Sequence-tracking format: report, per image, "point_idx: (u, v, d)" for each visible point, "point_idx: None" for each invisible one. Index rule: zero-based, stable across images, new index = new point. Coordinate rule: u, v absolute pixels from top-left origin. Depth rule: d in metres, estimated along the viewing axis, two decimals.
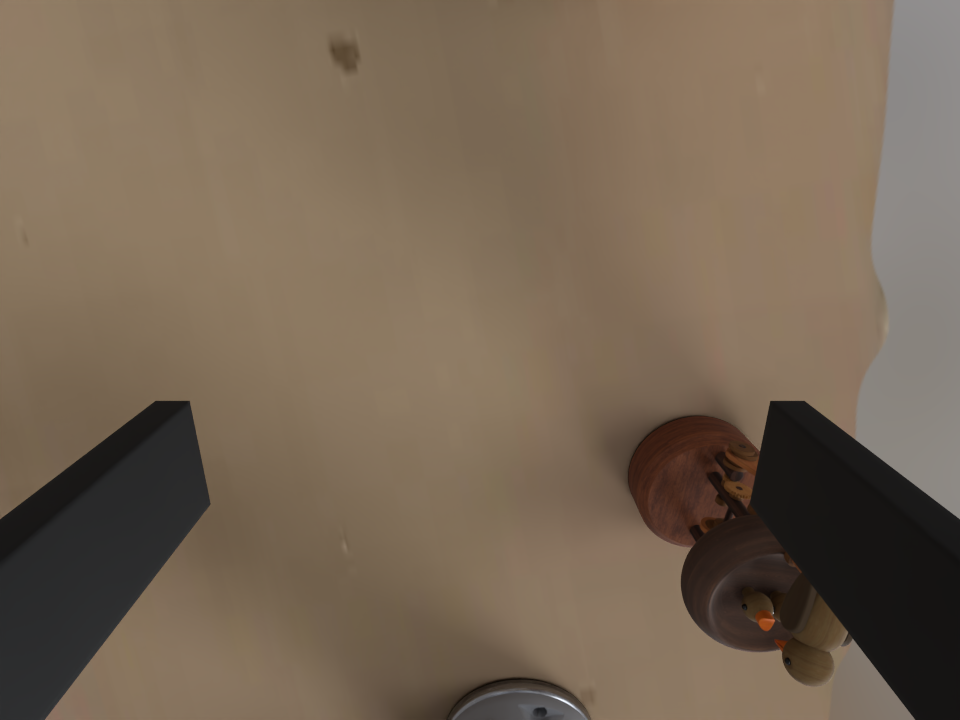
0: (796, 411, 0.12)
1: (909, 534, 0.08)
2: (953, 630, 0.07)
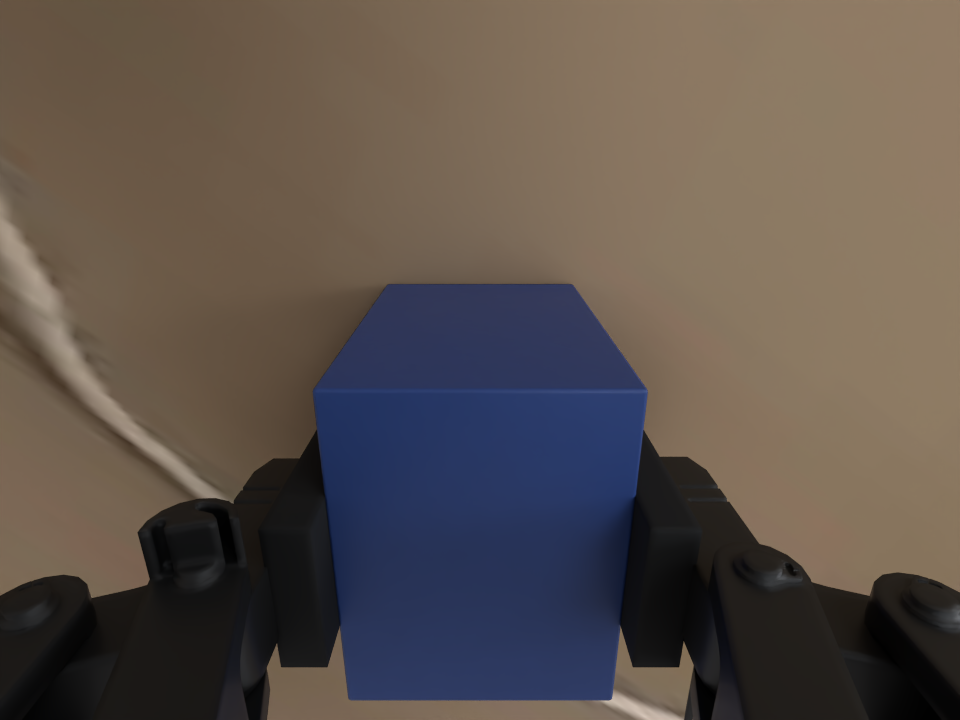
0: None
1: None
2: None
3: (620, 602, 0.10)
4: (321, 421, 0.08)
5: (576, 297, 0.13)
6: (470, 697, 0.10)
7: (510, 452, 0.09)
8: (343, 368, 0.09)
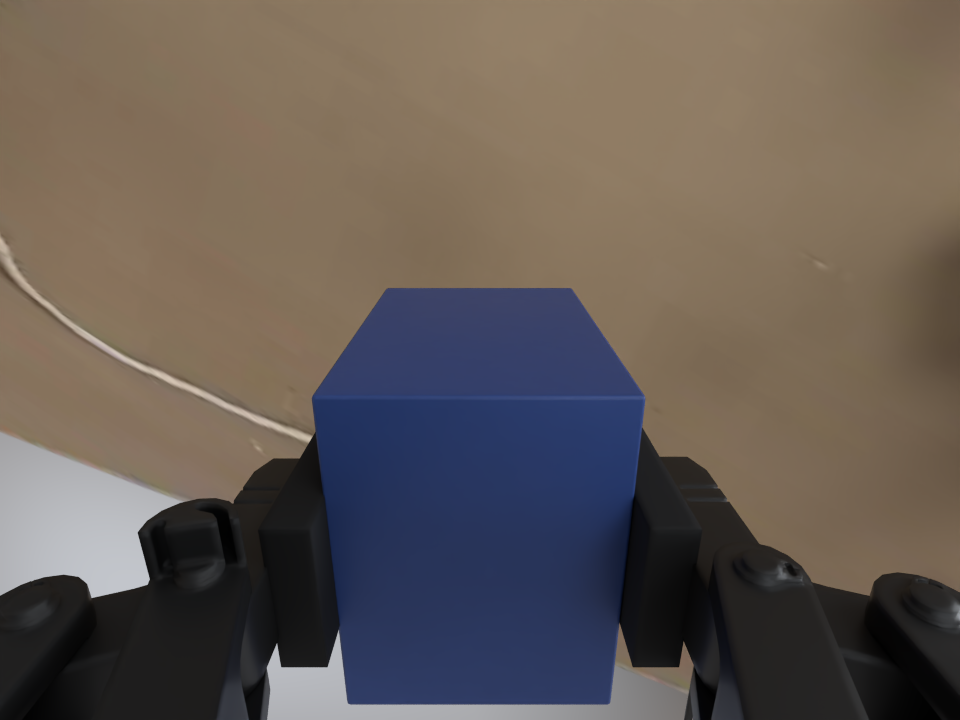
0: None
1: None
2: None
3: (618, 607, 0.10)
4: (321, 427, 0.08)
5: (575, 301, 0.13)
6: (469, 701, 0.10)
7: (508, 459, 0.09)
8: (342, 374, 0.09)
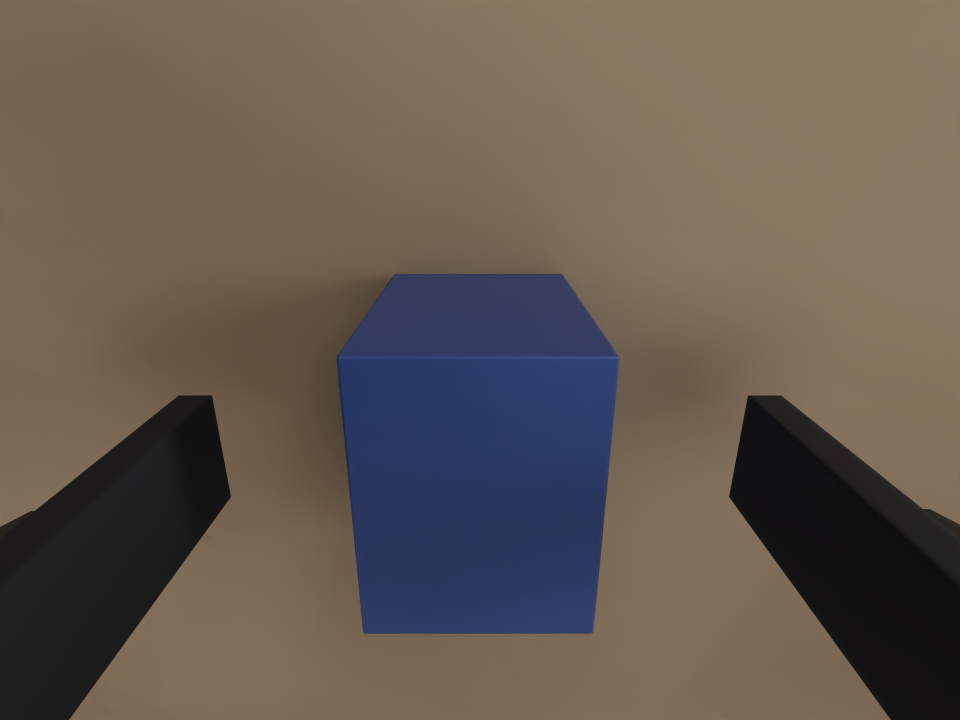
0: (772, 405, 0.12)
1: (872, 522, 0.09)
2: (911, 613, 0.08)
3: (599, 543, 0.11)
4: (344, 383, 0.10)
5: (565, 285, 0.15)
6: (470, 631, 0.12)
7: (503, 411, 0.10)
8: (361, 340, 0.10)
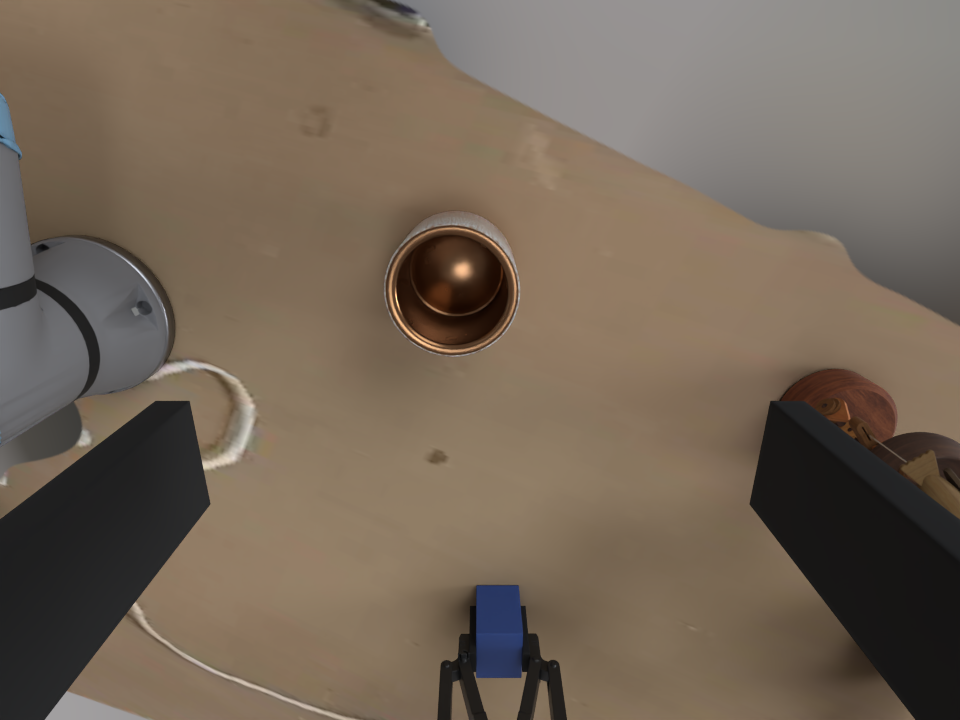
0: (796, 411, 0.12)
1: (909, 534, 0.08)
2: (953, 630, 0.07)
3: (521, 661, 0.60)
4: (477, 637, 0.59)
5: (518, 594, 0.64)
6: (497, 677, 0.61)
7: (503, 641, 0.59)
8: (478, 627, 0.60)
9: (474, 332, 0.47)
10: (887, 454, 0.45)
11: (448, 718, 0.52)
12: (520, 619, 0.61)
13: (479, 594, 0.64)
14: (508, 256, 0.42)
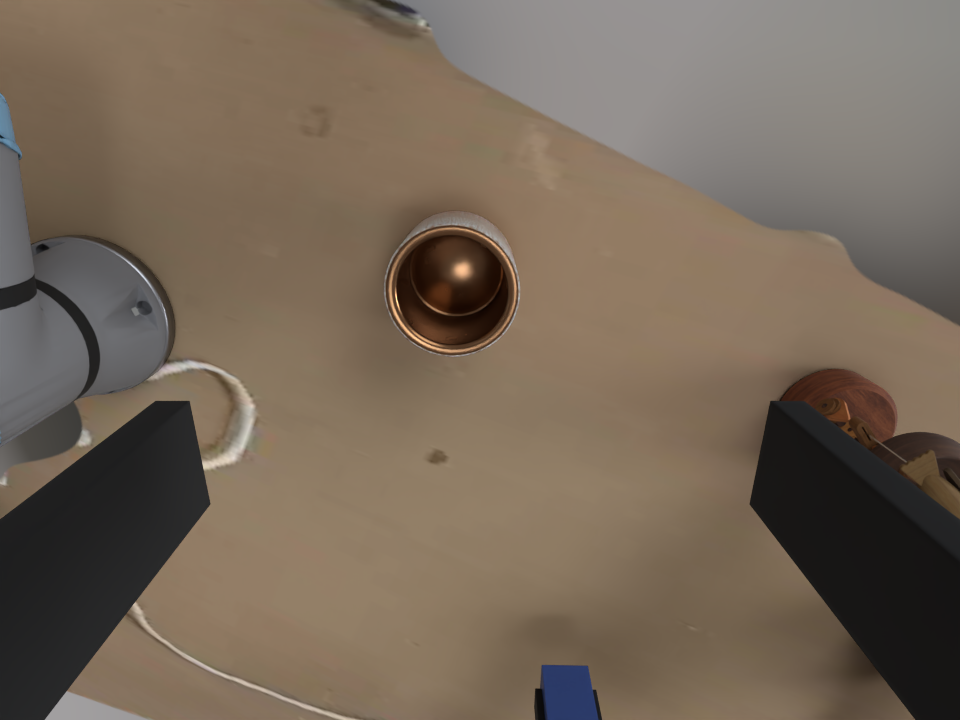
0: (796, 411, 0.12)
1: (909, 534, 0.08)
2: (953, 630, 0.07)
3: None
4: None
5: (588, 678, 0.58)
6: None
7: None
8: None
9: (474, 332, 0.47)
10: (887, 454, 0.45)
11: None
12: (595, 710, 0.55)
13: (546, 676, 0.58)
14: (508, 256, 0.42)
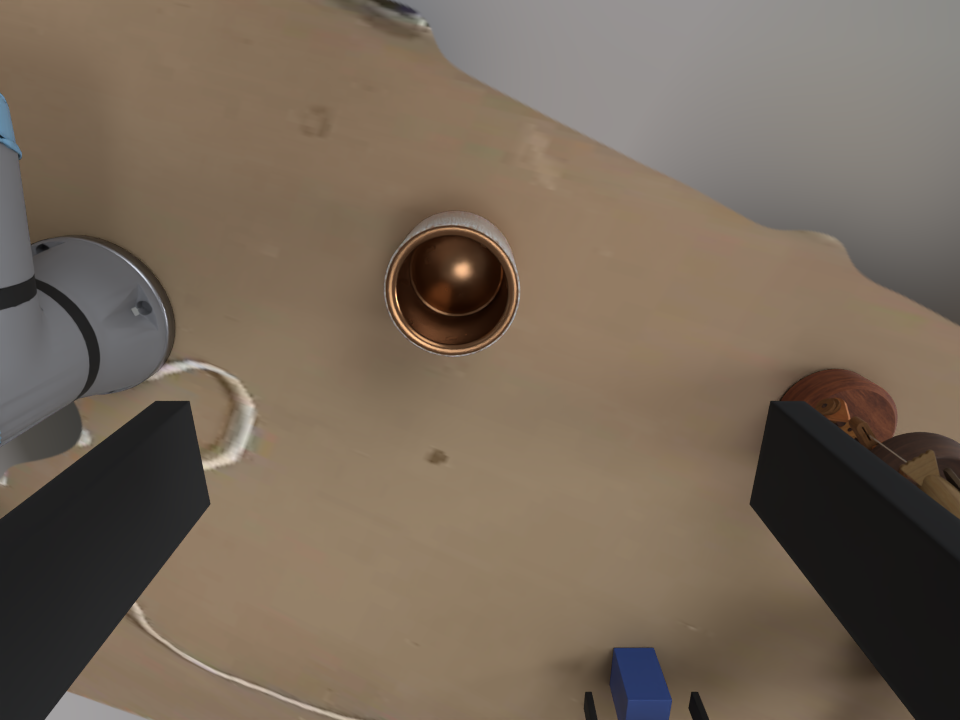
0: (796, 411, 0.12)
1: (909, 534, 0.08)
2: (953, 630, 0.07)
3: None
4: (628, 703, 0.62)
5: (656, 658, 0.67)
6: None
7: (653, 707, 0.63)
8: (628, 693, 0.63)
9: (474, 332, 0.47)
10: (887, 454, 0.45)
11: None
12: (665, 684, 0.64)
13: (619, 657, 0.67)
14: (508, 256, 0.42)
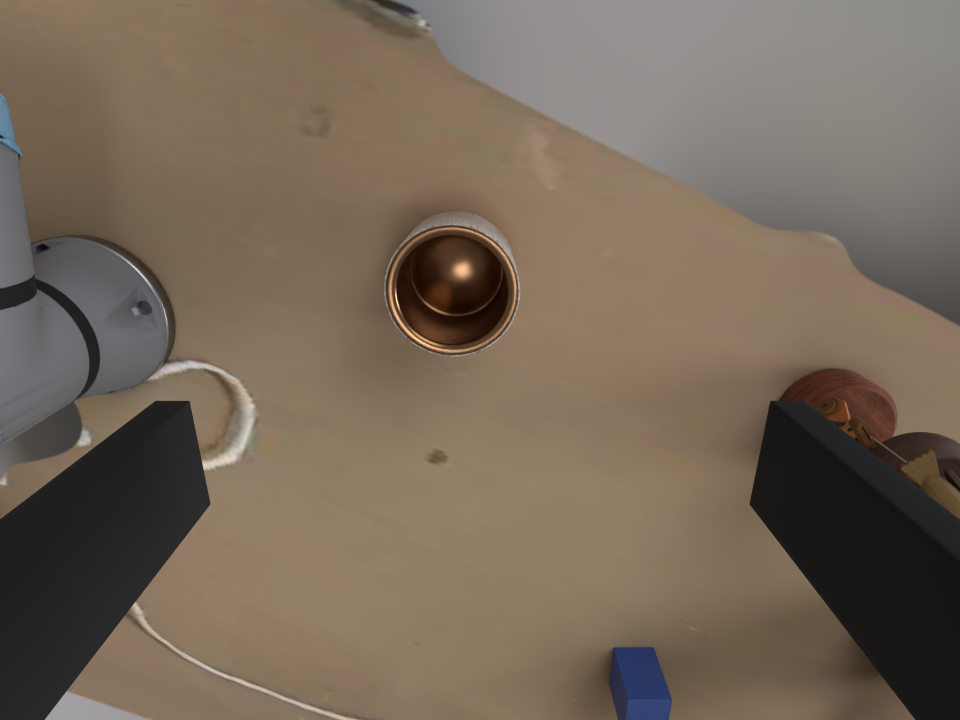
0: (796, 411, 0.12)
1: (909, 534, 0.08)
2: (953, 630, 0.07)
3: None
4: (628, 703, 0.62)
5: (656, 658, 0.67)
6: None
7: (653, 707, 0.63)
8: (628, 693, 0.63)
9: (474, 332, 0.47)
10: (887, 454, 0.45)
11: None
12: (665, 684, 0.64)
13: (619, 657, 0.67)
14: (508, 256, 0.42)
